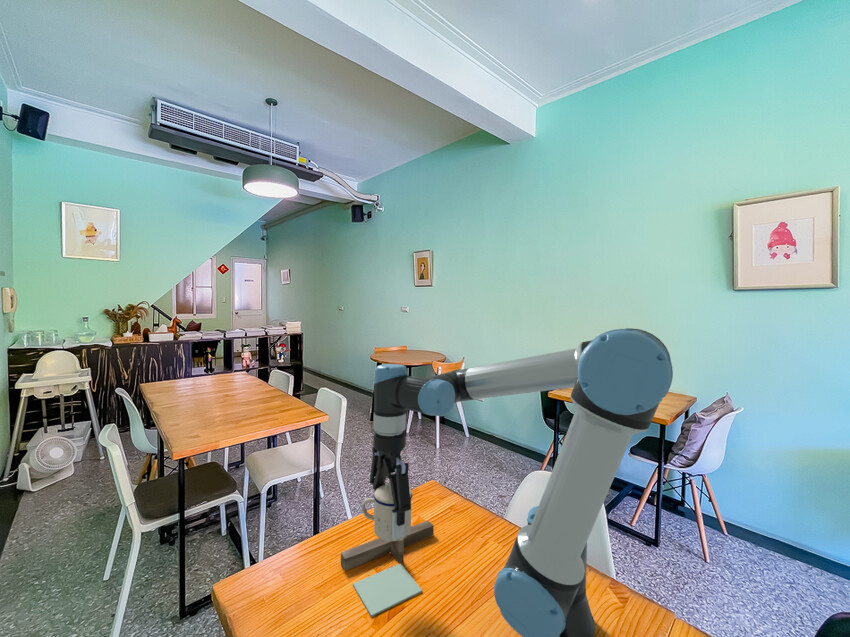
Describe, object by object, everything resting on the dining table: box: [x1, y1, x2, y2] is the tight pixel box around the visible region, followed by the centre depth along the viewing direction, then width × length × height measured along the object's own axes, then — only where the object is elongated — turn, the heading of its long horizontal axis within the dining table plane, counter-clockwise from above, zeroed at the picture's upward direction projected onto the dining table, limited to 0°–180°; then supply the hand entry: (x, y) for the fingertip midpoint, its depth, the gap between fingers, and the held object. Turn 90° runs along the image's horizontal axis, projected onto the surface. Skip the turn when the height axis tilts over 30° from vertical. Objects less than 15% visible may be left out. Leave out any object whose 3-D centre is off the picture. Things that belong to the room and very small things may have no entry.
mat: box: [352, 563, 423, 618], centre depth 83 cm, size 10×13×1 cm
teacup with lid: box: [361, 481, 413, 541], centre depth 83 cm, size 12×9×12 cm
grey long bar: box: [340, 520, 435, 572], centre depth 95 cm, size 8×27×6 cm, turn 123°
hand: (388, 526), depth 83 cm, fingers closed on teacup with lid, 9 cm apart
